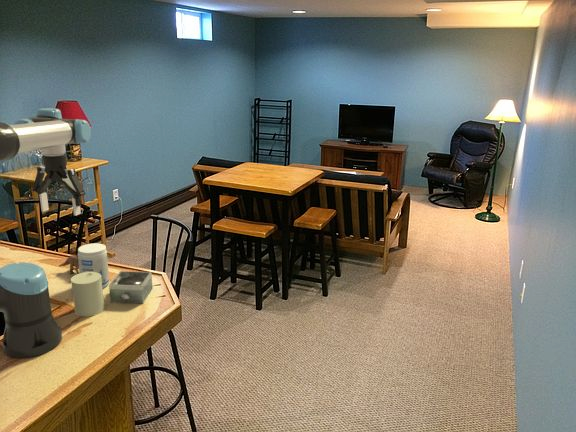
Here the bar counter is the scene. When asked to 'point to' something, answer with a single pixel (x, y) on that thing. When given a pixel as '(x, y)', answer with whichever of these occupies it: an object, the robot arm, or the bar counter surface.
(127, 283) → the grey open box
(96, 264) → the supplement tub
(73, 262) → the dinosaur figurine
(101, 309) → the can
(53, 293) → the bar counter surface
